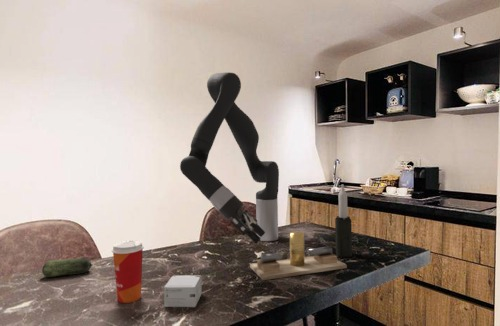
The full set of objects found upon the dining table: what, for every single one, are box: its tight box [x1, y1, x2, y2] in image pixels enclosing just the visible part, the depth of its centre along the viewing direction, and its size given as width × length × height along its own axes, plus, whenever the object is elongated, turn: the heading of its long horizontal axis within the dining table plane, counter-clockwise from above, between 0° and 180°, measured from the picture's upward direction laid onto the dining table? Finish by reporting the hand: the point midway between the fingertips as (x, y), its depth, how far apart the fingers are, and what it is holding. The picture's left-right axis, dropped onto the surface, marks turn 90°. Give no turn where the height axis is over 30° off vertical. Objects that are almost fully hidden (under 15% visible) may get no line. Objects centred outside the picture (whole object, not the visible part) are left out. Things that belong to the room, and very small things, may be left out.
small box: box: [163, 274, 202, 308], centre depth 82 cm, size 8×8×5 cm
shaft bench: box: [249, 253, 348, 281], centre depth 104 cm, size 12×28×3 cm, turn 108°
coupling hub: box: [289, 230, 306, 267], centre depth 104 cm, size 5×5×10 cm
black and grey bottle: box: [334, 184, 353, 258], centre depth 116 cm, size 5×5×25 cm
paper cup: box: [111, 240, 145, 304], centre depth 83 cm, size 8×8×14 cm
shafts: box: [260, 246, 333, 263], centre depth 103 cm, size 2×24×2 cm, turn 108°
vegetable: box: [41, 257, 93, 278], centre depth 102 cm, size 14×5×5 cm, turn 108°
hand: (261, 238), depth 106 cm, fingers open, 8 cm apart
